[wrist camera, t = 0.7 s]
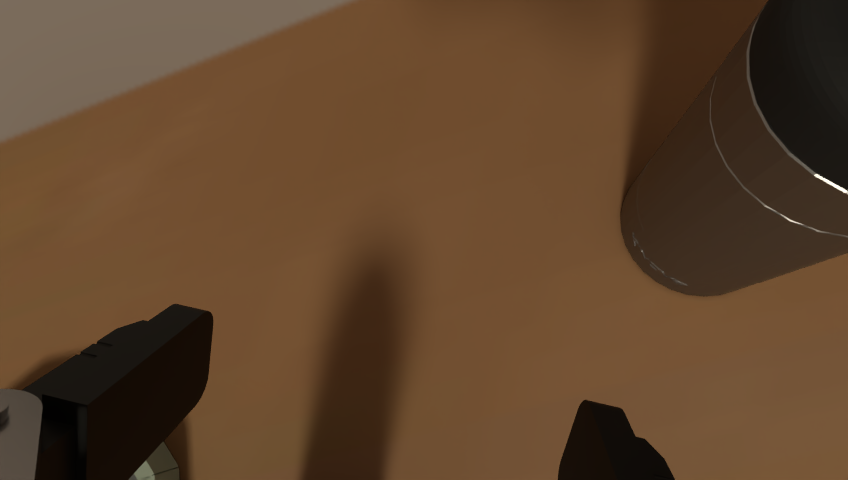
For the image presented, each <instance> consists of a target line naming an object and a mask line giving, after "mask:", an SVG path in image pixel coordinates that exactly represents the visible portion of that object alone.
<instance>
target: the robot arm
mask: <svg viewBox="0 0 848 480" xmlns="http://www.w3.org/2000/svg"><path fill="white" fill-rule="evenodd" d="M621 231H622V235H623V238H624V242H625V245H626V247H627V249H628V251H629V253H630V254H631V256H632V258H633V260H634V261H635V262H636V263H637V264H638V266H639V267H640V268H641V269H642V270H643V271H644V272H645V273H646V274H647V275H648V276H650V277H651V278H652V279H653V280H655V281H656V282H658V283H660V284H661V285H663V286H665V287H667V288H669V289H671V290H674V291H677V292H681V293H684V294H687V295H696V296H715V295H722V294H726V293H729V292H732V291H735V290H739V289H742V288H745V287H748V286H751V285H754V284H757V283H761V282H764V281H766V280H769V279H772V278H775V277H778V276H781V275H784V274H787V273H790V272H793V271H796V270H799V269H802V268H805V267H808V266H811V265H814V264H817V263H820V262H823V261H825V260H828V259H831V258H834V257H837V256H840V255H843V254H846V253H848V0H769V1H768V2H767V3H766V5H765V6H764V7H763V8H762V10H761V11H760V13H759V14H758V15H757V17H756V18H755V19H754V21H753V22H752V23H751V25H750V26H749V27H748V29H747V30H746V31H745V33H744V34H743V35H742V37H741V38H740V39H739V41H738V42H737V44H736V45H735V46H734V48H733V49H732V50H731V52H730V53H729V54H728V56H727V57H726V59H725V60H724V62H723V63H722V64H721V66H720V67H719V68H718V70H717V71H716V72H715V74H714V75H713V76H712V78H711V79H710V81H709V82H708V83H707V85H706V86H705V87H704V89H703V90H702V91H701V93H700V94H699V95H698V97H697V98H696V99H695V101H694V102H693V103H692V105H691V106H690V107H689V109H688V110H687V111H686V113H685V114H684V115H683V117H682V118H681V120H680V121H679V122H678V124H677V125H676V126H675V128H674V129H673V130H672V132H671V133H670V134H669V136H668V137H667V138H666V140H665V141H664V142H663V144H662V145H661V146H660V148H659V149H658V150H657V152H656V153H655V154H654V156H653V157H652V158H651V159H650V161H649V162H648V164H647V165H646V166H645V168H644V169H643V170H642V172H641V173H640V175H639V176H638V177H637V179H636V180H635V181H634V183H633V184H632V186H631V187H630V188H629V190H628V192H627V194H626V197H625V199H624V201H623V205H622V211H621ZM212 331H213V316H212V314H211V312H209V311H205V310H201V309H196V308H192V307H188V306H183V305H179V304H173V305H171V306H170V307H168V308H167V309H165V310H164V311H162V312H161V313H159V314H158V315H156V316H155V317H154V318H152V319H151V320H149V321H144V320H142V321H139V322H136V323H133V324H130V325H127V326H123V327H120V328H117V329H116V330H114V331H112V332H111V333H109V334H108V335H106V336H105V337H103V338H102V339H100V340H99V341H97V344H92V345H91V346H89V347H88V348H86V349H85V350H83V351H82V352H81V354H80V355H75V356H74V357H72V358H71V359H69V360H68V361H66V362H65V363H63V364H61V365H60V366H58V367H57V368H55V369H54V370H52V371H51V372H49V373H48V374H46V375H44V376H43V377H41V378H40V379H38V380H37V381H35V382H34V383H32V384H30V385H29V386H27V387H26V388H24V389H23V390H14V389H0V480H129V478H130V477H131V476H132V475H133V474H134V473H135V472H136V471H137V470H138V469H139V467H140V466H141V465H142V464H143V463H144V462H145V461H146V460H147V459H148V458H149V456H150V455H151V454H152V453H153V452H154V451H155V450H156V449H157V448H158V446H159V445H160V444H161V443H162V442H163V441H164V440H165V439H166V438H167V437H168V435H169V434H170V433H171V432H172V431H173V430H174V429H175V428H176V427H177V426H178V424H179V423H180V422H181V421H182V420H183V419H184V418H185V417H186V416H187V415H188V413H189V412H190V411H191V410H192V409H193V408H194V407H195V406H196V404H197V403H198V402H199V400H200V398H201V396H202V394H203V392H204V390H205V387H206V384H207V380H208V374H209V364H210V353H211V342H212ZM558 480H675V479H674V477H673V475H672V473H671V471H670V469H669V467H668V465H667V463H666V461H665V459H664V458H663V457H662V456H661V455H660V454H659V453H658V452H657V451H656V450H655V449H654V448H653V447H652V446H651V445H650V444H649V443H648V442H647V441H646V440H645V439H643V438H639V437H636V436H635V434H634V432H633V430H632V428H631V426H630V424H629V422H628V419H627V417H626V415H625V413H624V411H623V410H622V409H621V408H618V407H614V406H610V405H605V404H601V403H597V402H592V401H588V400H584V401H583V402H582V403H581V404H580V406H579V408H578V411H577V414H576V417H575V420H574V423H573V426H572V429H571V432H570V435H569V438H568V441H567V444H566V447H565V450H564V453H563V456H562V459H561V462H560V466H559V473H558Z"/></svg>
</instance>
